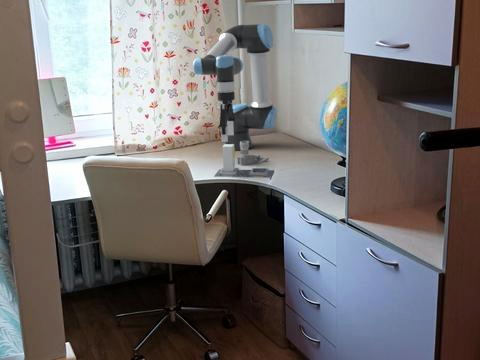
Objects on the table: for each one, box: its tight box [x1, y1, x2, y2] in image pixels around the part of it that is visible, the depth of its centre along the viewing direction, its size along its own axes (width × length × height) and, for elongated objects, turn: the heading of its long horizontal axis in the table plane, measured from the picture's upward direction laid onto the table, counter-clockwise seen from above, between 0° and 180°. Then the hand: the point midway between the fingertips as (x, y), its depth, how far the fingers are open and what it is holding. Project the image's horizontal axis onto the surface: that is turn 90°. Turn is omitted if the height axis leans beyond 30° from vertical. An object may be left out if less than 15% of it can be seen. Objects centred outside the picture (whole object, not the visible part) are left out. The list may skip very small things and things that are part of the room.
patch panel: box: [213, 167, 275, 180], centre depth 292 cm, size 12×26×2 cm, turn 79°
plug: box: [221, 144, 236, 172], centre depth 291 cm, size 4×5×13 cm
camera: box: [236, 141, 270, 166], centre depth 310 cm, size 9×12×15 cm
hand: (227, 138), depth 288 cm, fingers open, 13 cm apart
